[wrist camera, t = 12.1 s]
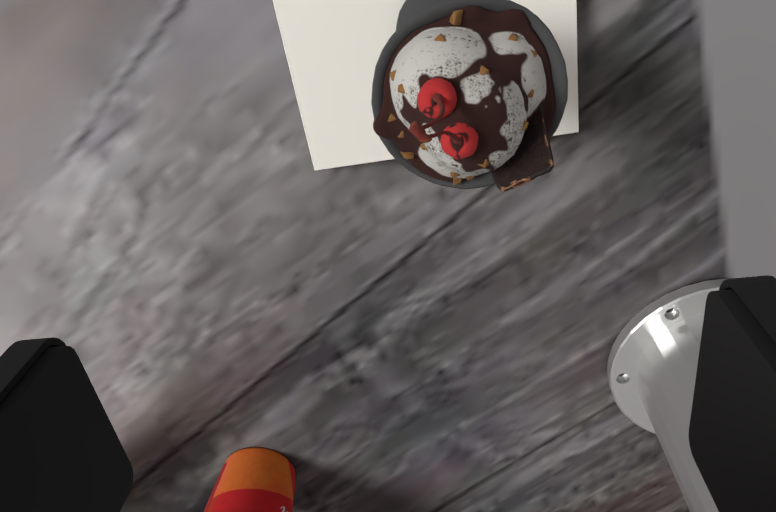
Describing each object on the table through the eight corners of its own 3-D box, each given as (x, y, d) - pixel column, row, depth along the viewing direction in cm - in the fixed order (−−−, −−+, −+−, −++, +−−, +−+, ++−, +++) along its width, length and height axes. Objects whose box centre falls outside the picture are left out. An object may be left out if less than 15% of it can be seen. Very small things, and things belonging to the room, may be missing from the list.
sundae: (361, -26, 28) (334, 67, 16) (509, -61, 28) (606, 7, 15) (392, 111, 32) (390, 278, 19) (524, 83, 31) (613, 239, 18)
